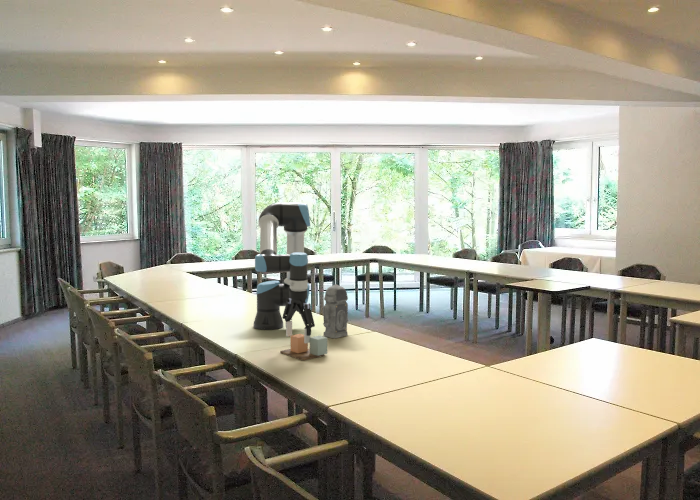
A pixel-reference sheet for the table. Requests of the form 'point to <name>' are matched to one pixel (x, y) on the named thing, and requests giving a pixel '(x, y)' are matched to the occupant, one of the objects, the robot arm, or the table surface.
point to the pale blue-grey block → (318, 345)
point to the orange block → (298, 343)
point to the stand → (300, 354)
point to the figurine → (335, 312)
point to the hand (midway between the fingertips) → (298, 339)
